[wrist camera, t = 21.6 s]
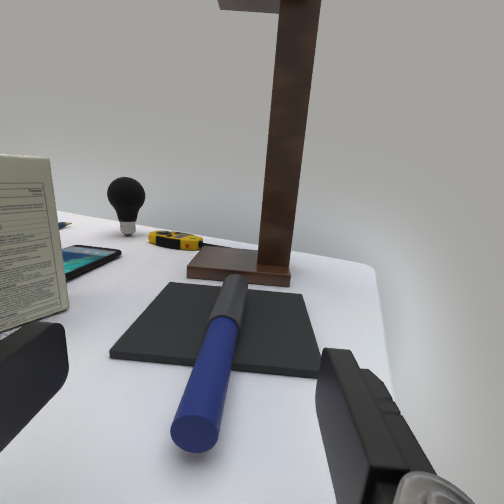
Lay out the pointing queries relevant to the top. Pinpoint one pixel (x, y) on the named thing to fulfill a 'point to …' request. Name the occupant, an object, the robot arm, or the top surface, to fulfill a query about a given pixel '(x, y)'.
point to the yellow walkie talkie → (177, 240)
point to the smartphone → (85, 258)
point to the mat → (247, 345)
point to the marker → (211, 372)
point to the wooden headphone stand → (274, 149)
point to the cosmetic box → (29, 242)
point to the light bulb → (126, 202)
